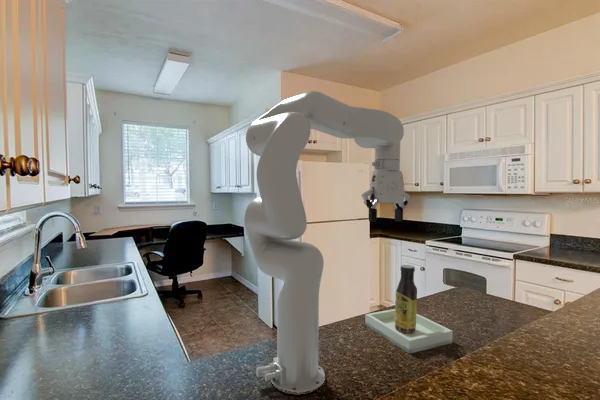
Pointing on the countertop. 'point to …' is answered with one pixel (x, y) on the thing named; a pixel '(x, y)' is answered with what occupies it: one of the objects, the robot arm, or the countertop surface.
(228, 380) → the countertop surface
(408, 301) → the sauce bottle
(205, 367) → the countertop surface
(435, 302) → the countertop surface
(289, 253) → the robot arm
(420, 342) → the tray
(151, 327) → the countertop surface
